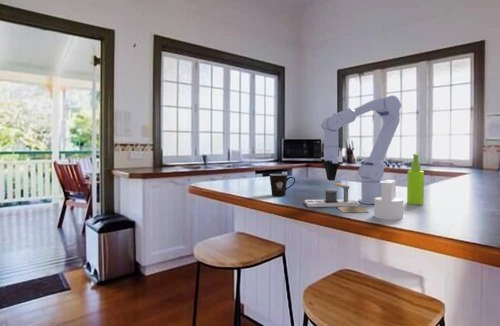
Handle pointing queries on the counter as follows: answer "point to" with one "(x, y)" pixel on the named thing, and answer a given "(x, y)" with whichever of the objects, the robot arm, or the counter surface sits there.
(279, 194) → the coffee mug
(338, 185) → the clip
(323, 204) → the power strip
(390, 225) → the counter surface
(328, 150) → the robot arm
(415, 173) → the soap dispenser
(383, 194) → the base with upright slab
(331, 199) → the plug
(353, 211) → the coaster
